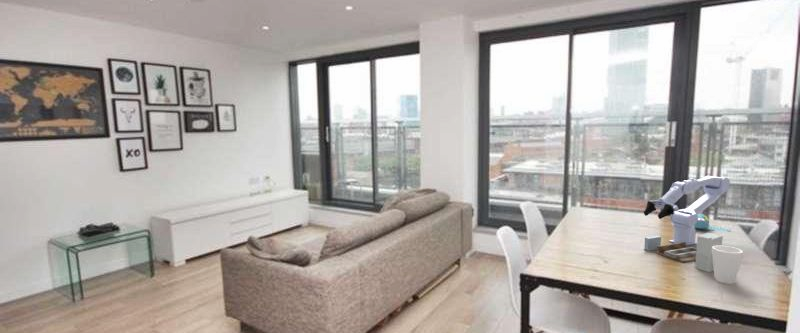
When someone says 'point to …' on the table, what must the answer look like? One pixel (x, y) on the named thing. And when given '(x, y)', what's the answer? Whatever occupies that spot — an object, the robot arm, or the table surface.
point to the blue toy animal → (706, 224)
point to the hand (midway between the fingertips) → (651, 215)
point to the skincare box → (706, 251)
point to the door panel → (652, 242)
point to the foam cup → (726, 263)
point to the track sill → (678, 252)
